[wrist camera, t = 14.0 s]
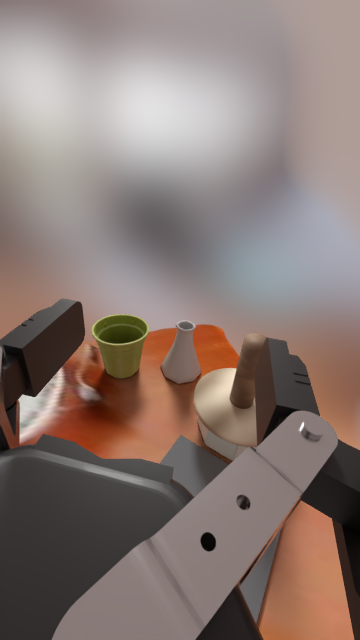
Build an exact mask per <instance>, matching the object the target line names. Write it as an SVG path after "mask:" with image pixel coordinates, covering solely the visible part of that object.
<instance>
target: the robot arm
mask: <svg viewBox="0 0 360 640" xmlns="http://www.w3.org/2000/svg"><path fill="white" fill-rule="evenodd" d="M84 336H85V327H84V318H83V309H82V304H81V303H80V302H78V301H73V300H67V299H61V300H59V301H58V302H57V303H55V304H54V305H53V306H51V307H49V308H46V309H44V310H41V311H39V312H37V313H35V314H34V315H33V316H31V317H30V318H29V319H28V320H26V321H25V322H23V323H22V324H21V325H19V326H18V327H17V328H15V329H14V330H13V331H11V332H10V333H9V334H7V335H6V336H5V337H3V338H2V339H1V340H0V640H263V638H262V635H261V633H260V631H259V629H258V627H257V625H256V622H255V620H254V618H253V616H252V614H251V611H250V609H249V607H248V605H247V603H246V601H245V598H244V596H243V594H242V592H241V590H240V586H241V585H242V584H243V582H244V581H245V579H246V578H247V577H248V575H249V574H250V572H251V571H252V570H253V568H254V567H255V565H256V564H257V562H258V561H259V560H260V558H261V557H262V555H263V554H264V552H265V551H266V549H267V548H268V546H269V545H270V544H271V542H272V541H273V539H274V538H275V536H276V535H277V534H278V532H279V531H280V529H281V528H282V527H283V525H284V524H285V522H286V521H287V520H288V518H289V517H290V515H291V514H292V513H293V511H294V510H295V508H296V507H297V505H298V504H299V503H300V501H301V500H302V501H303V502H305V503H307V504H309V505H310V506H312V507H314V508H315V509H317V510H319V511H320V512H322V513H324V514H325V515H327V516H329V517H330V518H332V521H333V527H334V532H335V537H336V543H337V548H338V554H339V559H340V564H341V570H342V575H343V580H344V586H345V591H346V597H347V602H348V607H349V613H350V618H351V623H352V629H353V634H354V639H355V640H360V450H358V449H356V448H353V447H352V446H349V445H347V444H346V443H344V442H342V441H340V440H339V439H338V438H337V434H336V432H335V430H334V429H333V428H332V426H331V425H330V424H329V423H328V422H326V421H325V420H324V419H323V418H322V417H320V414H319V410H318V407H317V403H316V400H315V397H314V393H313V390H312V387H311V383H310V379H309V377H308V373H307V369H306V366H305V364H304V363H303V362H302V361H301V360H300V358H299V357H298V356H295V355H290V354H289V351H288V347H287V342H286V341H283V340H277V339H272V338H266V339H265V342H264V345H263V348H262V351H261V354H260V357H259V360H258V364H257V367H256V371H255V379H254V383H255V406H256V430H257V447H256V448H255V449H254V448H253V447H249V448H247V449H246V450H244V451H243V452H242V453H241V454H240V455H239V456H238V457H237V458H236V459H235V460H234V461H233V462H232V463H231V464H230V465H228V466H227V467H226V468H225V469H224V470H223V471H222V472H221V473H220V474H219V475H218V476H217V477H216V478H215V479H214V480H213V481H212V482H210V483H209V484H208V485H207V486H206V487H205V488H204V489H203V490H202V491H201V492H200V493H199V494H198V495H197V496H196V497H194V496H193V495H192V494H191V493H190V492H189V491H188V490H187V489H186V488H185V487H184V486H183V485H181V484H180V483H179V482H177V481H175V480H174V479H172V475H173V468H174V467H170V466H166V465H162V464H158V463H154V462H150V461H146V460H143V459H103V458H100V457H98V456H96V455H95V454H93V453H91V452H90V451H88V450H86V449H85V448H83V447H81V446H80V445H78V444H76V443H75V442H72V441H68V440H64V439H61V438H57V437H53V436H49V435H45V434H43V435H42V436H41V438H40V439H39V440H38V442H37V443H36V444H33V445H24V446H20V444H19V419H20V404H19V400H18V399H19V398H20V397H21V395H22V394H23V395H28V396H32V397H36V396H37V395H38V393H39V392H40V391H41V390H42V389H43V388H44V387H45V385H46V384H47V383H48V382H49V381H50V380H51V378H52V377H53V376H54V375H55V374H56V373H57V372H58V370H59V369H60V368H61V367H62V366H63V365H64V364H65V362H66V361H67V360H68V359H69V358H70V357H71V356H72V354H73V353H74V352H75V351H76V350H77V349H78V347H79V346H80V345H81V344H82V342H83V340H84Z"/></svg>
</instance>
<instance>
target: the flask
mask: <svg viewBox="0 0 360 640" xmlns="http://www.w3.org/2000/svg"><path fill="white" fill-rule="evenodd" d="M176 327H177V335H176V338H175V341H174V343H173V345H172V347H171V349H170V351H169V353H168V354H167V356H166V358H165V359H164V361H163V363H162V365H161V369H162V371H163V373H164V376H165V377H166V378H168V379H170V380H172V381H174V382H176V383H177V384H181V383H186V382H191V381H194V380H195V379H196V378H197V377H198V376H199V375H200V373H201V369H200V366H199V363H198V359H197V356H196V352H195V348H194V344H193V331H194V330H195V329H196V326H195V325H194V324H193V323H192V322H190V321H187V320H185V321H180V322H178V323H177V324H176Z"/></svg>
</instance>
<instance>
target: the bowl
mask: <svg viewBox="0 0 360 640" xmlns="http://www.w3.org/2000/svg"><path fill="white" fill-rule="evenodd" d="M197 422H198V425H199V428H200V431H201V434H202V437H203V440H204V443H205V444H206V446H208V447H209V448H211V449H213V450H215V451H216V452H218V453H220V454H221V455H223V456H225V457H226V458H228V459H230V460H231V461H234V460H235V459H236V458H237V457H238V456H239V455H240V454H241V453H242V452H243V451H244V450H246V449H247V448H249V447H244V446H239V445H235V444H232V443H229V442H227V441H225V440H223V439H221V438H219V437H217V436H216V435H214V434H213V433H212V432H211V431H209V430H208V429H207V428H206V427H205V426H204V425H203V423H202V422H201V421H200V419H199V417H198V419H197ZM253 448H254V449H255V448H256V447H253Z"/></svg>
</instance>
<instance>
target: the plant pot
mask: <svg viewBox="0 0 360 640" xmlns="http://www.w3.org/2000/svg"><path fill="white" fill-rule="evenodd" d="M148 333H149V326H148V324H147V323H146V322H145V321H144V320H143V319H141V318H139V317H136V316H133V315H127V314H117V315H111V316H107V317H104V318H102V319H100V320H99V321H97V322H96V323H95V324H94V325H93V327H92V335H93V337H94V338H95V339H96V341H97V343H98V345H99V348H100V351H101V355H102V358H103V362H104V366H105V370H106V372H107V373H108V374H110V375H112V376H113V377H115V378H127V377H130V376H132V375H133V374H134V373H135V372H136V371H138V369H139V365H140V359H141V354H142V348H143V343H144V341H145V338H146V336H147V335H148Z"/></svg>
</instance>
